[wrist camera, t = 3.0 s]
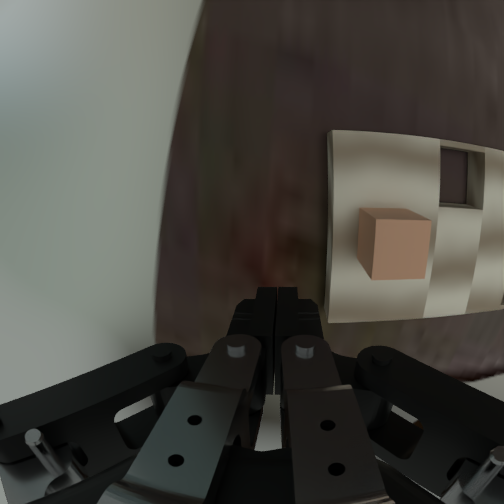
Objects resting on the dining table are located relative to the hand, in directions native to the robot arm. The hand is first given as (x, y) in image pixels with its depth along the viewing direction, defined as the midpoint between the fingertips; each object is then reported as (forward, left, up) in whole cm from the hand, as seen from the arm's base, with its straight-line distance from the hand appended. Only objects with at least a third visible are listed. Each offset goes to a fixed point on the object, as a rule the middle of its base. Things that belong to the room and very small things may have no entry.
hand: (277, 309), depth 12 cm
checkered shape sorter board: (0, +19, -15) cm, 24 cm away
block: (0, +8, -12) cm, 14 cm away
